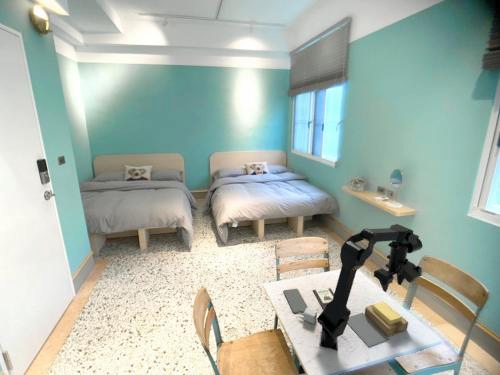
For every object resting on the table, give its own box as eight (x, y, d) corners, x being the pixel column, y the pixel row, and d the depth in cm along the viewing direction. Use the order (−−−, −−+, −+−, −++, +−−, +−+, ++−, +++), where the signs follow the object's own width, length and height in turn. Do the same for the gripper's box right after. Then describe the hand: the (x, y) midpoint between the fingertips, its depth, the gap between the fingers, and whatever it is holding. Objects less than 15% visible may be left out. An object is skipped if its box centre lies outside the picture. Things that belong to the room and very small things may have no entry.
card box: (383, 305, 108) (383, 301, 108) (401, 320, 100) (402, 316, 100) (372, 308, 107) (372, 304, 106) (389, 324, 98) (390, 320, 98)
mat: (362, 313, 109) (362, 312, 109) (389, 339, 97) (389, 338, 97) (343, 319, 106) (343, 318, 106) (368, 347, 94) (368, 346, 93)
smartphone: (297, 288, 124) (309, 310, 110) (297, 289, 125) (309, 312, 111) (282, 290, 123) (293, 312, 109) (282, 291, 123) (293, 314, 109)
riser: (382, 309, 112) (383, 301, 110) (406, 330, 101) (408, 322, 100) (364, 314, 108) (365, 307, 107) (387, 337, 98) (388, 329, 96)
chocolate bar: (328, 318, 106) (312, 289, 123) (328, 320, 106) (312, 291, 123) (348, 316, 107) (330, 288, 124) (348, 318, 107) (330, 289, 124)
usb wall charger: (313, 324, 103) (314, 317, 102) (297, 318, 107) (297, 310, 106) (316, 318, 107) (317, 310, 106) (300, 312, 110) (301, 304, 109)
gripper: (402, 273, 90) (395, 308, 95) (433, 259, 98) (425, 292, 103) (375, 257, 100) (370, 290, 105) (405, 246, 108) (399, 277, 112)
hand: (392, 288), depth 106 cm, fingers open, 9 cm apart
